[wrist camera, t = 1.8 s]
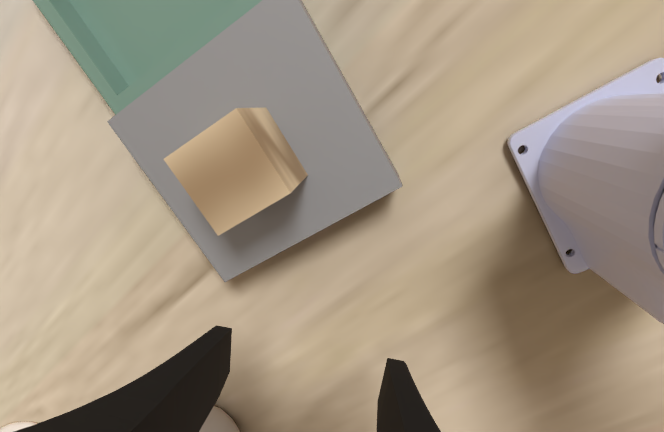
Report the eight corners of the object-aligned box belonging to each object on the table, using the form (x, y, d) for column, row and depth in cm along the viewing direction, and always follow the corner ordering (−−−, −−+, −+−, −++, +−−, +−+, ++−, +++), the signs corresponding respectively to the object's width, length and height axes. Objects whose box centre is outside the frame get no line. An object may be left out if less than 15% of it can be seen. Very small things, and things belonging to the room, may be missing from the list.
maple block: (307, 174, 18) (290, 193, 14) (248, 210, 19) (218, 235, 16) (266, 107, 17) (236, 108, 14) (206, 148, 18) (163, 159, 15)
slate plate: (398, 175, 21) (402, 186, 18) (242, 261, 24) (224, 282, 21) (300, -1, 18) (287, -20, 16) (142, 119, 21) (107, 121, 19)
